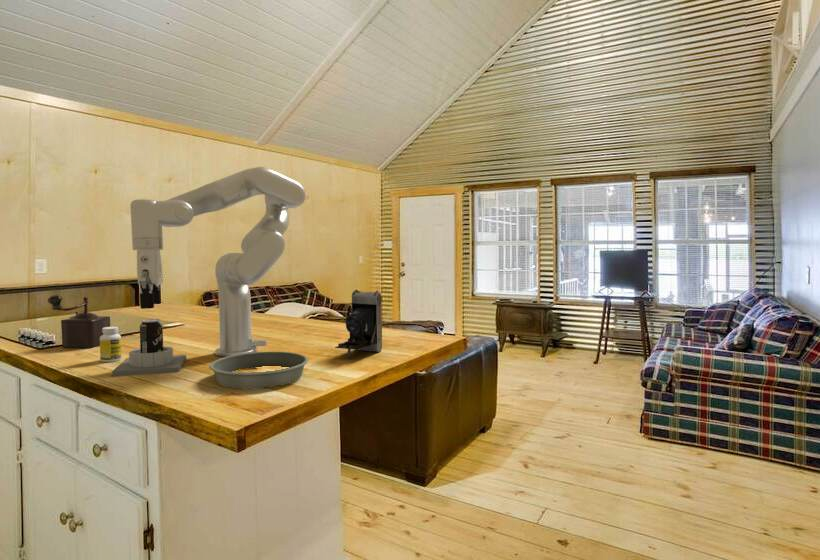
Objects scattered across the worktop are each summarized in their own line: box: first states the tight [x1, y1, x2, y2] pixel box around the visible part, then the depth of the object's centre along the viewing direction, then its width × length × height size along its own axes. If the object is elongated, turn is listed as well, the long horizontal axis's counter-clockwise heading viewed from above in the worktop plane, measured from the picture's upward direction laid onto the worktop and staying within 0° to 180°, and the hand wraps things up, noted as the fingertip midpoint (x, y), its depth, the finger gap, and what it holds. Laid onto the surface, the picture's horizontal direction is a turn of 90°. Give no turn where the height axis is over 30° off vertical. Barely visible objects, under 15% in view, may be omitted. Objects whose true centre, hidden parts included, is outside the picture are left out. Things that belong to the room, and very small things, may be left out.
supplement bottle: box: [99, 326, 123, 363], centre depth 147 cm, size 5×5×10 cm
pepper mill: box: [47, 294, 111, 350], centre depth 166 cm, size 16×11×18 cm
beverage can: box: [139, 318, 164, 353], centre depth 140 cm, size 6×6×12 cm
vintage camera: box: [334, 289, 383, 360], centre depth 155 cm, size 10×16×20 cm, turn 158°
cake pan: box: [208, 351, 309, 389], centre depth 129 cm, size 25×25×4 cm
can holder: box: [111, 345, 188, 377], centre depth 140 cm, size 16×16×5 cm
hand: (150, 306), depth 139 cm, fingers open, 9 cm apart
